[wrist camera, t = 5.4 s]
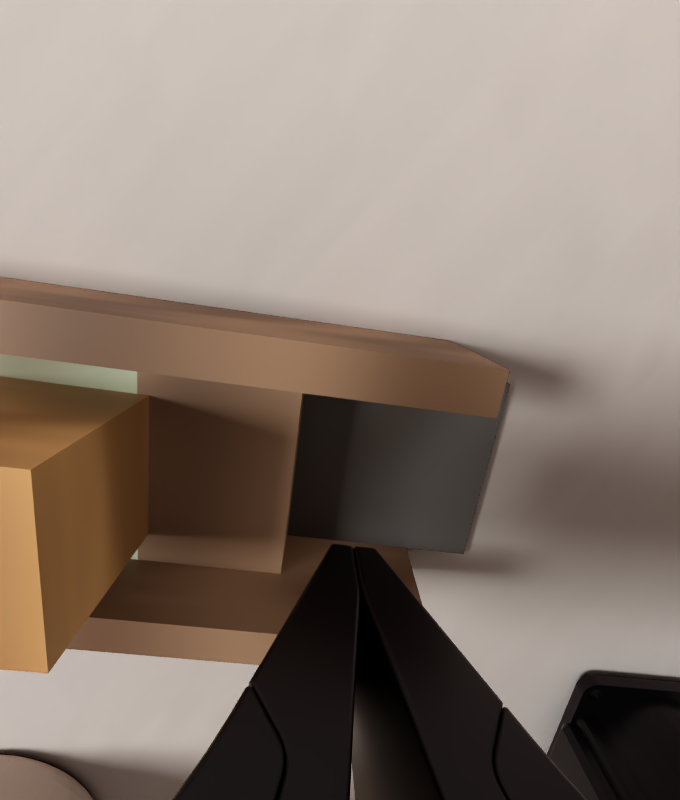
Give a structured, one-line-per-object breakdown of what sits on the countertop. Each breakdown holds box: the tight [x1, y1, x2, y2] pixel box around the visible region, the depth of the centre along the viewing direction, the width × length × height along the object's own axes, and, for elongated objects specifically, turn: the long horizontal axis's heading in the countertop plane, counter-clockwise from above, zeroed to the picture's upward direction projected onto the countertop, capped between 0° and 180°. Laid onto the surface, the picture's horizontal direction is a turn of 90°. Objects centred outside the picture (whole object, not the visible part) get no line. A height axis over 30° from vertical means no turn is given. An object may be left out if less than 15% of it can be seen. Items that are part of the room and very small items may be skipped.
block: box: [0, 376, 149, 673], centre depth 8 cm, size 4×4×4 cm
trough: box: [0, 277, 510, 665], centre depth 10 cm, size 20×8×4 cm, turn 82°
